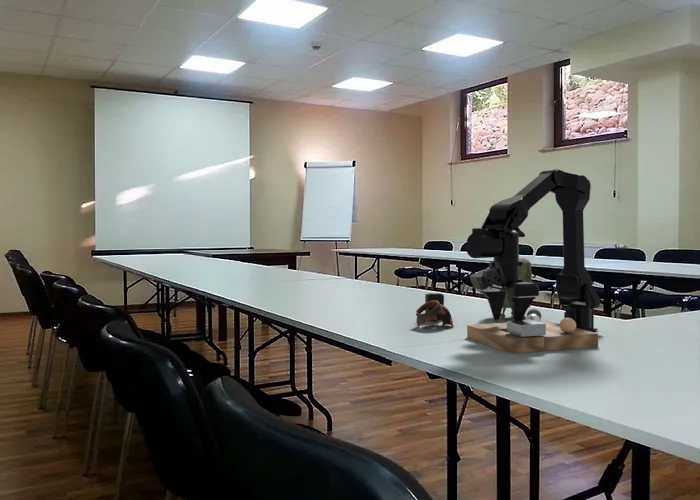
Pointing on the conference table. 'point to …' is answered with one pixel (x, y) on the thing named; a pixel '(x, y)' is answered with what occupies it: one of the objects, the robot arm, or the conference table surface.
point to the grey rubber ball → (534, 312)
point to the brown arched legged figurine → (434, 313)
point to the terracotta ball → (567, 325)
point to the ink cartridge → (433, 297)
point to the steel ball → (533, 317)
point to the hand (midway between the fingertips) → (506, 323)
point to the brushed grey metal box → (526, 328)
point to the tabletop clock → (527, 277)
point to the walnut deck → (531, 338)
